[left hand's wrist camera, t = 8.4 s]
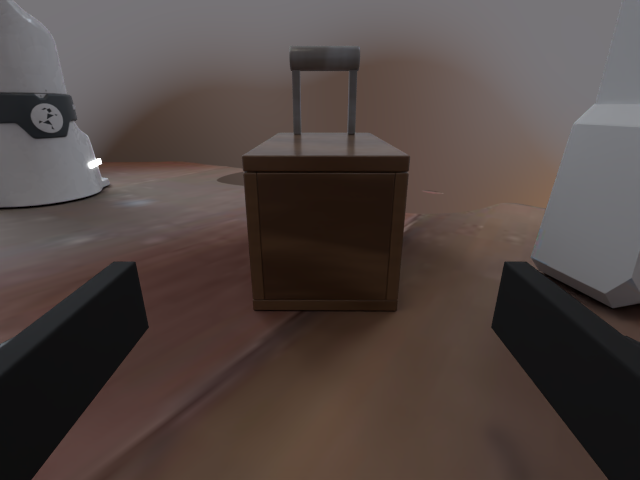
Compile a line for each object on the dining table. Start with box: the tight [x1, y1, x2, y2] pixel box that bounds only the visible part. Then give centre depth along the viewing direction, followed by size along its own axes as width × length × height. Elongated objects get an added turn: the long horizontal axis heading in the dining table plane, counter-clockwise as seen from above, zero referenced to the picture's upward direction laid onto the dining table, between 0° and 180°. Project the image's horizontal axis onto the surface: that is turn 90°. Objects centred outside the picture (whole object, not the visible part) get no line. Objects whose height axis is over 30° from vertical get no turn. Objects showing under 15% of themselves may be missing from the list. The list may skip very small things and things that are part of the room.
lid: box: [242, 46, 410, 172], centre depth 27 cm, size 18×10×9 cm, turn 0°
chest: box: [243, 172, 409, 311], centre depth 30 cm, size 18×10×9 cm, turn 0°
